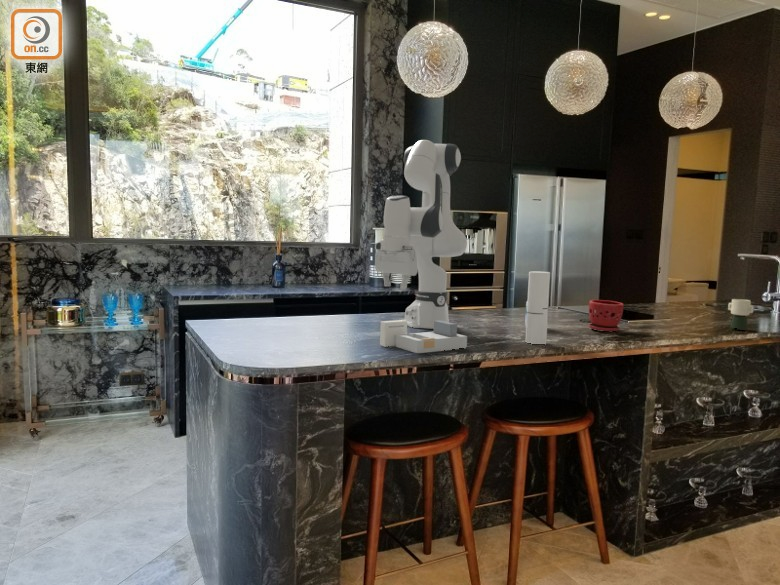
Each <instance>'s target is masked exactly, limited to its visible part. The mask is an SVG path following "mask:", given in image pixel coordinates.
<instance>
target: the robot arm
mask: <svg viewBox="0 0 780 585" xmlns="http://www.w3.org/2000/svg"><path fill="white" fill-rule="evenodd" d="M461 160H462V156H461V152H460V148H459V146H457V144H455V143H434V142H433V141H431V140H428V139H420V140H418V141H417V142H415V144H413V145H411V146H409V147H407V148H406V149H405V151H404V155H403V164H404V170H403V175H404V178H405V181H406V182H407V184H408V185H409V186H410V187H411V188H413V189H415V190H417V191H421V192H422V196H421V206H420V207H418V206H417V207H414V206H412V207H411V200H410V197H408V196H407V195H390V196H388V197H387V198H386V199H385V205H384V211H383V226H384V231H383V233H382V234H383V235H382V236H383V238H382V239H381V240H379V241H378V242H376V243H375V244H374V250H376V251H375V254H374V268H375V271H376V272H377V273H382V274H381V276H382V279H383V286H384V287H391V286H392V285H391V284H392V280H390V274H392V275H400V276H401V279H402V280H401V283H399V289H400V290H407V289H408V283H409V281H410V276H411V277H412V276H413V277H415V276H417V274H418V291H415V292H414V293H415V294H414V295H415V300H414V301H413V302H412V303H411V304H410V305H408V306H407V307H406V308H405V312H404V319H401V320H404V321H407V327H410V328H412V327H413V329H414V328H416V329H417V328H418V329H419V328H420V329H433V330H434V321H439V320H442V321H446V322H450V320H449V307H448V306H449V305H448V304H447V301H448V291H447V283H448V282H447V281H448V280H447V279H448V274H447V271H446V270H445V269H444V268H443V267H442V266H440V265H438V264H436V263H434V262H433V258H435V257H436V258H452V257H453V258H454V257H460V256H462V255H463V254H464V253H465V252H466V250H467V247H468V241H467V237H466V235H465V233H464V232H463V231H461V229H459V228H458V227H457V226H456V224H455V223H454V220H453V218H452V214H451V179H450V176H452V175H453V173H455V172H456V171H457V170H458V169H459V167H460V163H461Z"/></svg>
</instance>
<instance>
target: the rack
mask: <svg viewBox="0 0 780 585" xmlns="http://www.w3.org/2000/svg"><path fill="white" fill-rule="evenodd" d="M467 343H468V336H467V335H463V334H460V333H458V323H454V322H450V321H449V322H446V321H442V320H439V321H434V329H433V331H426V332H425V331H424V332H413V333H412V332H410V333H407V334H398V335H396V346H395V348H398V349H402V350H404V351H408V352H412V353H415V354H425V353H435V352H442V351H443V352H445V351H452V349H455V350H460V349H459V348H464V349H467V348H466V347H467V346H468V344H467ZM444 350H445V351H444Z"/></svg>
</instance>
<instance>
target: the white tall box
mask: <svg viewBox="0 0 780 585" xmlns="http://www.w3.org/2000/svg"><path fill="white" fill-rule="evenodd" d="M550 277H551V272H550V271H540V270H539V271H534V270H533V271H528V286H527V319H526V327H525V341H524V342H527V343H531V344H530V345H532V344H545V345H547V338H548V337H547V335H548V317H549V300H550V299H549V298H550V281H551V278H550ZM527 343H526V344H527Z"/></svg>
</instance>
